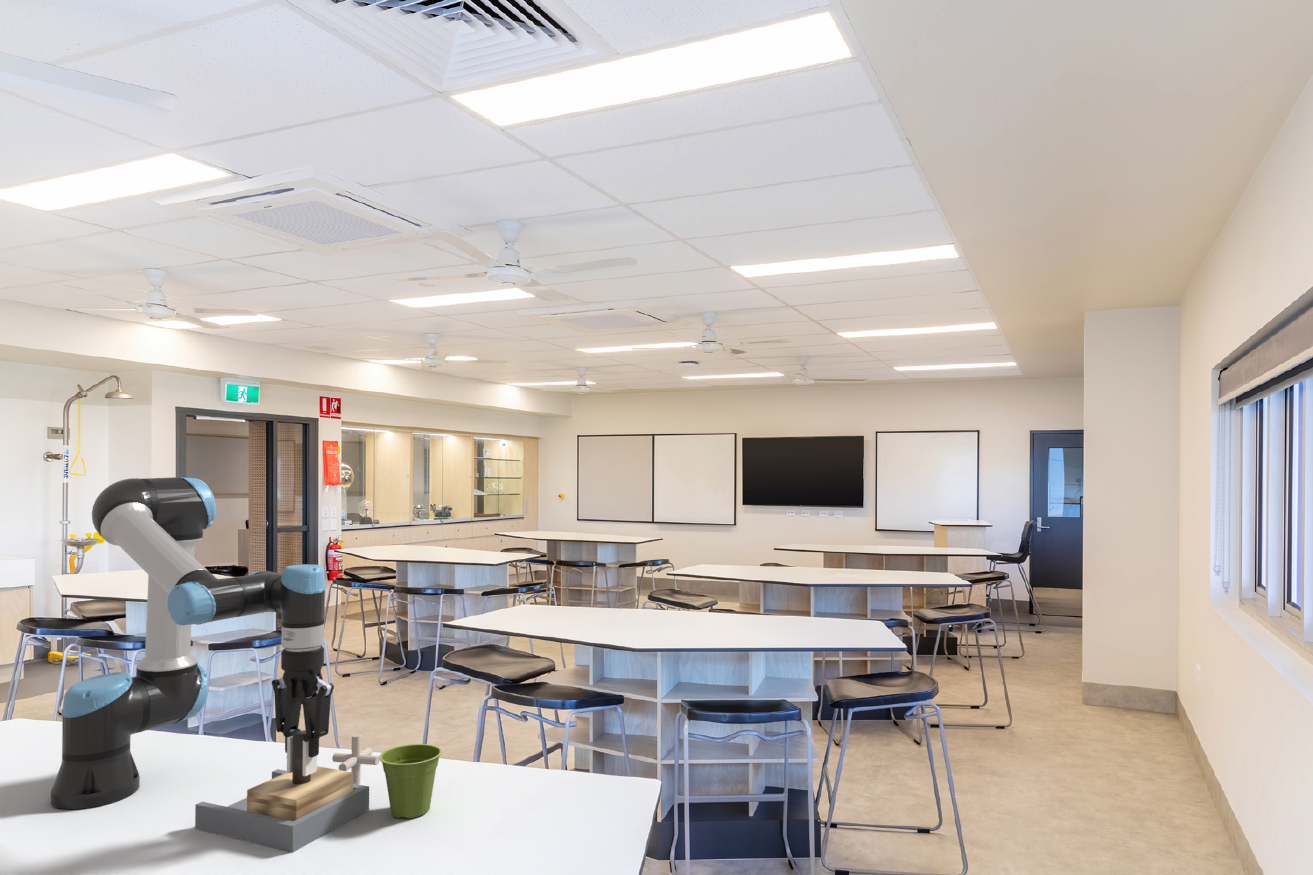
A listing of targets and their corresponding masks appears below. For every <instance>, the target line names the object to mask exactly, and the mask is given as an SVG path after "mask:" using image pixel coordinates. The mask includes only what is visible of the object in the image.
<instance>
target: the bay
mask: <svg viewBox="0 0 1313 875" xmlns="http://www.w3.org/2000/svg"><path fill="white" fill-rule="evenodd" d="M285 773H287V770H285V769H278V768H277V769H275V770H273V771H271V779H273V778H276V777H278V776H280V775H282V774H285ZM194 808H195V809H194V811H195V814H194V818H195V820H194V821H195V822H194V829H195V830H198V831H200V832H205V833H210V834H215V835H219V836H223V837H227V838H231V839H236V840H239V841H240V840H241V841H244V842H247V843H248V842H249V843H251V844H252V843H253V844H256V845H260V846H265V847H269V848H272V849H276V850H282V851H285V850H286V852H289V853H294V852H296V851H297V850H300V849H301V848H304V846H306V845H308V844H310V843H312V842H314V841H315V840H318V839H319V838H321V837H323V836H325V835H327V834H328V833H330V832H332V831H334V830H335V829H337V828H339V827H341V826H343V825H344V824H346V823H348V822H350V821H351V820H354V819H355V818H357V817H359V816H361V815H363V814H364V813H366V812H368V811H369V810H370V786H369V785H364V784H353V791H351V792H349V793H348V794H346V795H344V796H342V797H340V798H338V799H336V800H334V801H332V802H330V803H328V804H326V805H324V806H322V807H320V808H318V809H316V810H314V811H312V812H311V813H309V814H307V815H305V816H303V817H301V818H299V819H297V820H295V821H289V820H285V819H280V818H276V817H271V816H267V815H262V814H257V813H253V812H248V811H247V797H244V798H242V799H240V800H239V801H236V802H234V803H232V804H229V805H227V806H226V805H225V806H224V805H220V804H217V803H212V802H206V801H201V802H198V803H196V804H195V807H194ZM367 810H368V811H367ZM358 815H359V816H358ZM356 816H357V817H356Z"/></svg>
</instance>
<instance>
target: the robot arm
mask: <svg viewBox="0 0 1313 875" xmlns="http://www.w3.org/2000/svg"><path fill="white" fill-rule="evenodd" d="M216 515H217V505H216V499H215V497H214V493H213V491H212V490H211V489H210V487H209V485H207V483H206V482H204V481H203V480H201V479H199V478H195V477H183V476H177V477H173V476H172V477H154V478H152V477H151V478H149V477H148V478H147V477H146V478H134V477H133V478H126V479H121V480H119V481H115V482H114V483H112V484H110V485H108V486H107V487H105V488H104V489H103V490H102V491H101V492H100V493H99V495H98V496H97V497H96V499H95V501H94V503H93V505H92V508H91V521H92V524H93V526H94V529H95V530H96V533H97V534H98V535H99V536H100V537H102V539H104V541H106V542H107V543H108V544H110V545H113V546H119V547H120V548H121V550H123V551H124V553H125V554H127V555H128V556H129V557H130V558H131V559H132V560H133V561H134V562H135V563H136V564H137V565H138V566H139V567H140V568H141V569H142V570H143V571H144V572H145V573H146V574H147V575H148V578H147V602H146V624H145V627H146V629H145V649H144V650H145V653H144V657H143V658H142V659H141V660H140V661H138V662H137V664H136V669H135V676H132V675H131V674H130V673H128V672H123V671H121V672H111V673H108V674H106V673H104V674H103V673H102V674H99V675H96V676H92V677H89V678H85V679H82V680H81V681H78V682H76V683H75V684H73V685H71V686H70V687H69V688H68V689H67V690H66V691H65V693H64V695H63V702H62V703H63V704H62V708H61V709H62V710H61V716H62V724H61V726H62V727H61V728H62V729H61V730H62V731H61V732H62V736H61V739H62V740H61V743H62V746H61V748H62V749H61V750H62V751H61V758H62V759H61V764H60V767H59V769H58V772H57V774H56V777H55V780H54V783H53V787H52V788H51V790H50V805H51V806H52V807H54V808H57V809H62V810H80V809H87V808H89V809H90V808H95V807H100V806H105V805H108V804H111V803H114V802H117V801H120V800H121V801H122V800H123V799H126V798H127V797H129V796H131V795H134V794H135V793H137V791H138V790H139V789H140V779H141V778H140V772H139V770H138V768H137V766H136V763H135V760H134V757H133V755H132V752H131V737H132V735H135V734H137V733H142V732H146V731H149V730H153V729H157V728H160V727H165V726H167V725H175V724H178V723H180V722H181V723H182V721H185V720H189V719H191V718H194V717H195V716H197V715H198V713H199V712H200V711H202V709H203V708H204V706H205V704H206V702H207V699H208V696H209V695H208V694H209V689H210V687H209V686H210V683H209V678H207V676H208V674H207V672H206V670H205V668H204V667H203V666H202V665H200V664H198V659H197V657H195V656H194V655H193V654H192V652H191V646H192V645H191V643H192V642H191V640H192V626H193V625H197V626H198V625H203V624H207V623H212V622H217V621H222V620H229V619H233V618H240V617H246V616H251V615H252V616H253V615H259V614H264V613H277V614H281V647H282V651H281V653H280V655H281V656H280V657H281V658H280V668H281V669H282V671H283V674H282V676H281V677H279V678H276V679H272V681H271V686H272V689H273V692H274V710H275V711H274V712H275V713H274V714H275V715H274V716H275V730H276V733H282V735H283V736H284V751H285V754H286V771H287V773H291V772H292V770H293V733H295V732H297V731H302V729H300V728H299V725H300V720H301V719H300V717H301V709H302V710H303V718H304V720H303V721H304V728H305V730H306V738H305V739H303V776H307V775H309V774H312V773H314V772H316V771H317V766H318V765H317V764H318V763H317V762H318V760H317V759H318V757H317V756H318V755H319V753H320V738H322V737H324V736H327V735H328V734H329V729H330V726H329V725H330V715H331V714H330V713H331V702H332V701H331V700H332V694H333V692H334V688H335V685H334V683H327V682H325V681H324V679H323V675H322V668H323V667H324V664H325V648H324V646H323V645H324V644H325V608H326V604H325V602H326V601H325V600H326V598H325V597H326V587H327V585H326V582H325V569H324V567H322V565H319V564H305V563H304V564H302V563H301V564H293V565H288V566H285V567H284V568H283V569H282V573H278V572H273V571H270V570H264V571H253V572H250V573H249V574H246V575H242V576H233V577H226V578H217V577H216V576H215V575H214V574H213V573H211V572H210V571H209V570H208V569H207V568H206V567H205V566H203V564H201V563H200V562H199V561H198V560H197V559H196V558H195V548H196V547H195V546H197V544H199V543H200V542H201V541H202V539H203V537H204V530H206V529H208V528H210V527H211V526H212V525H213V523H214V521H215V520H216ZM283 648H284V649H283Z"/></svg>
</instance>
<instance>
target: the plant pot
mask: <svg viewBox="0 0 1313 875" xmlns="http://www.w3.org/2000/svg"><path fill="white" fill-rule="evenodd" d="M442 753H443V749H442V748H441V747H439V746H436V745H434V744H428V743H413V744H411V743H409V744H401V745H398V746H394V747H391V748H389V749H386V750H384V751H383V752H381V753H380V754H379V755H378V756H379V759H380V760H379V762H381V764H382V769H383V772H384V776H385V780H386V782H385V783H386V789H387V795H388V801H389V807H390V813H391V816H393V817H395V818H397V819H399V818H406V819H413V818H414V819H415V818H417V817H421V816H423V815H425V814H426V813H427V812H428V811H429V810H430V807H431V803H432V797H433V790H434V783H435V777H436V772H437V767H438V765H439V759H440V757H441V756H442Z"/></svg>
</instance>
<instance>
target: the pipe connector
mask: <svg viewBox="0 0 1313 875" xmlns="http://www.w3.org/2000/svg"><path fill="white" fill-rule="evenodd" d="M361 746H362V735H361V734H359V733H355V734H352V735H351V753H342V752H334V753H333V755H332V757H331V759H332V762H334V763H340V764H339V765H338V770H341V771H347V772H348V770H350V769H351V772H352V773H353V784H359V785H361V771H362V770H361V769H362V768H361V766H362V765H368V766H378V765H379V763H380V759H379V756H380V755H378V756H377V755H372V754H373V749H372V747H370V746H367V747H365V748H364V749H362V747H361Z"/></svg>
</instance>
